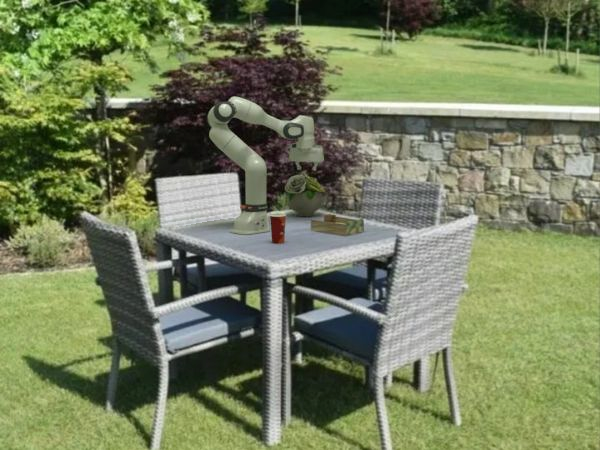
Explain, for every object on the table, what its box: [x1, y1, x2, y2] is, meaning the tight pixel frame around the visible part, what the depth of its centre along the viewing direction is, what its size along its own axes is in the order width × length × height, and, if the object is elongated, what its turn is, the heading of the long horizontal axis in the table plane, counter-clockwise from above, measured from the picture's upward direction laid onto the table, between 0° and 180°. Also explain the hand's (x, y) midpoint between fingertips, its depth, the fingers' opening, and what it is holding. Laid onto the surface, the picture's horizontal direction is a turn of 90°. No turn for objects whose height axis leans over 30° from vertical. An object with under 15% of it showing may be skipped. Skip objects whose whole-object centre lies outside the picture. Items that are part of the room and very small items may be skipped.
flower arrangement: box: [284, 174, 326, 217], centre depth 447 cm, size 25×25×24 cm
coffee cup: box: [269, 210, 287, 245], centre depth 373 cm, size 8×8×15 cm
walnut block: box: [323, 213, 337, 223], centre depth 408 cm, size 4×4×4 cm
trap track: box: [310, 216, 365, 237], centre depth 401 cm, size 16×23×7 cm
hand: (306, 170), depth 416 cm, fingers open, 8 cm apart
